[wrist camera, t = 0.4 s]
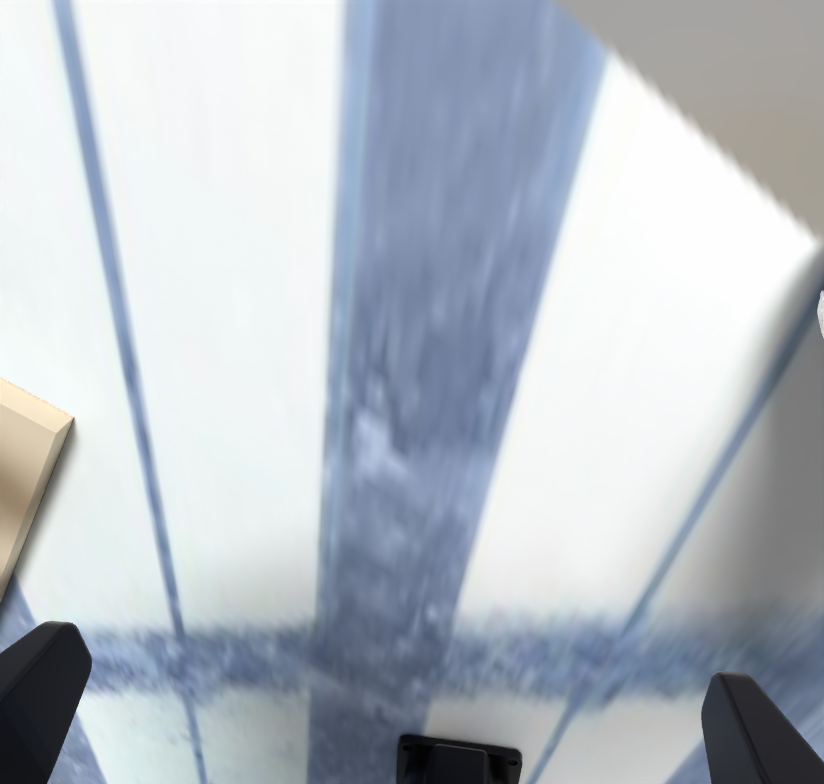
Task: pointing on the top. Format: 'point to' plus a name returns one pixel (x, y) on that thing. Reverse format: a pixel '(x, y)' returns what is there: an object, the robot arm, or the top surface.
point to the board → (24, 466)
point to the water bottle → (821, 312)
